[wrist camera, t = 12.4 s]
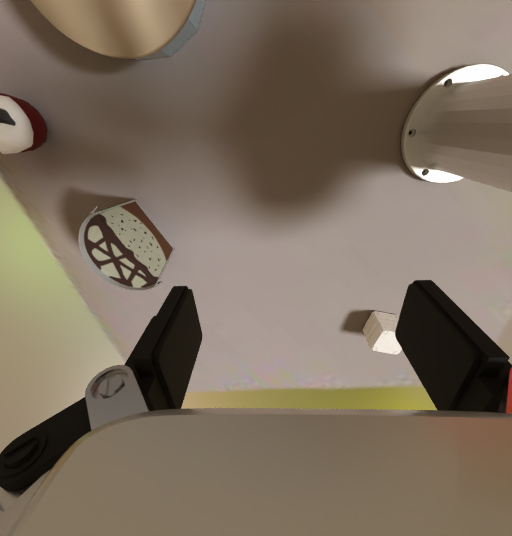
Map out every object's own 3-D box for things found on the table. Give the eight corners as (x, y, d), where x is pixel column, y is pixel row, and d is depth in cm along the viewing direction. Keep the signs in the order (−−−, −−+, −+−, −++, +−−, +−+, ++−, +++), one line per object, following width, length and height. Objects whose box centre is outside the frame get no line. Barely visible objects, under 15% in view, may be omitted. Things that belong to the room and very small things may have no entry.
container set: (361, 328, 49) (370, 351, 44) (372, 308, 47) (384, 329, 42) (456, 346, 50) (476, 369, 46) (473, 327, 48) (495, 350, 43)
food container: (99, 209, 39) (51, 235, 30) (128, 190, 37) (86, 211, 29) (152, 270, 44) (124, 306, 36) (180, 255, 42) (157, 290, 34)
